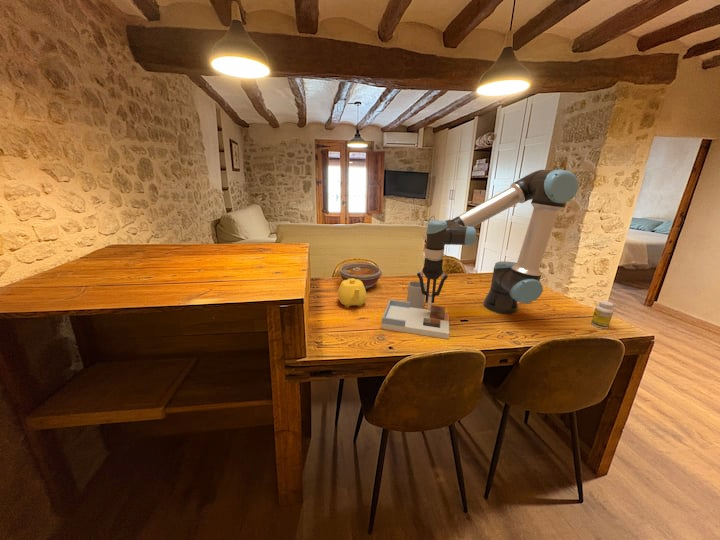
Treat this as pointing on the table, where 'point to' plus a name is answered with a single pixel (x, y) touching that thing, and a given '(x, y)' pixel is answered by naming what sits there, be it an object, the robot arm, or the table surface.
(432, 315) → the walnut block
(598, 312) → the pill bottle
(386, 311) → the deck
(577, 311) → the table surface
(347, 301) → the teapot
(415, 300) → the mug
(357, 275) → the bowl
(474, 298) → the table surface
